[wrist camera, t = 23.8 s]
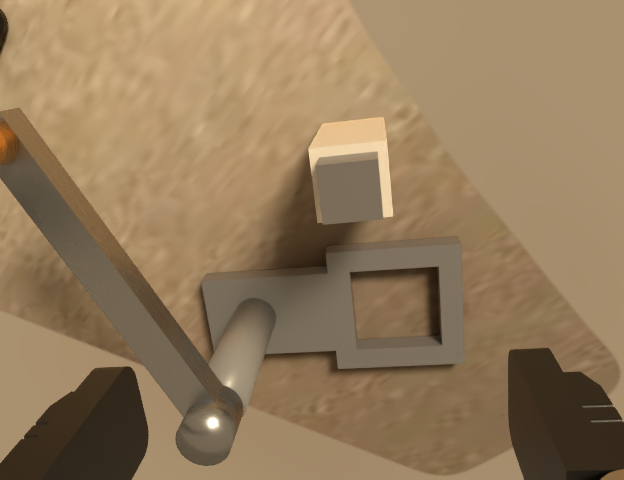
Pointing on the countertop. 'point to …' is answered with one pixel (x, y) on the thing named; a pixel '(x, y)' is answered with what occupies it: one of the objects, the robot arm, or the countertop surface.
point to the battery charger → (2, 26)
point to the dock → (327, 311)
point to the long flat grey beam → (119, 291)
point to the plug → (351, 171)
